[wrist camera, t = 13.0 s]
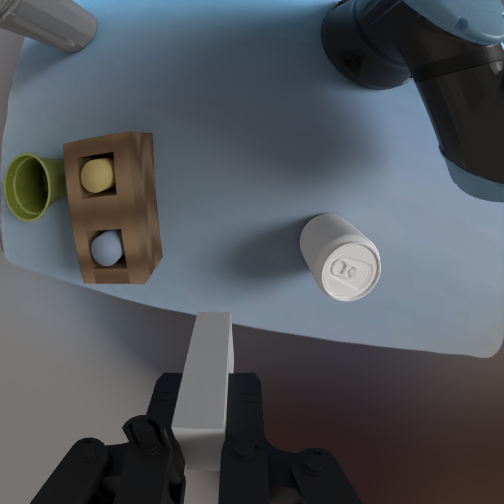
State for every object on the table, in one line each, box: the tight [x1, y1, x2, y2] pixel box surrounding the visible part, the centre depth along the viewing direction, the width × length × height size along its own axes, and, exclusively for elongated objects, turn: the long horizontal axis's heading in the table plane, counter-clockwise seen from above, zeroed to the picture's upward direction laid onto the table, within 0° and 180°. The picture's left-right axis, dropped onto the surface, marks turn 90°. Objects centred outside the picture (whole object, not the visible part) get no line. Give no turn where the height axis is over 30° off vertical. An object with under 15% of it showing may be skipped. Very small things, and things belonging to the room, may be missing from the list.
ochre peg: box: [81, 157, 116, 193], centre depth 34 cm, size 4×4×8 cm
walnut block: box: [63, 132, 162, 284], centre depth 36 cm, size 18×9×9 cm, turn 1°
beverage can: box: [300, 214, 381, 301], centre depth 38 cm, size 8×8×12 cm
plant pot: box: [4, 153, 67, 222], centre depth 35 cm, size 9×9×9 cm
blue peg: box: [91, 229, 125, 266], centre depth 37 cm, size 4×4×8 cm
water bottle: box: [0, 0, 97, 52], centre depth 19 cm, size 9×8×25 cm
